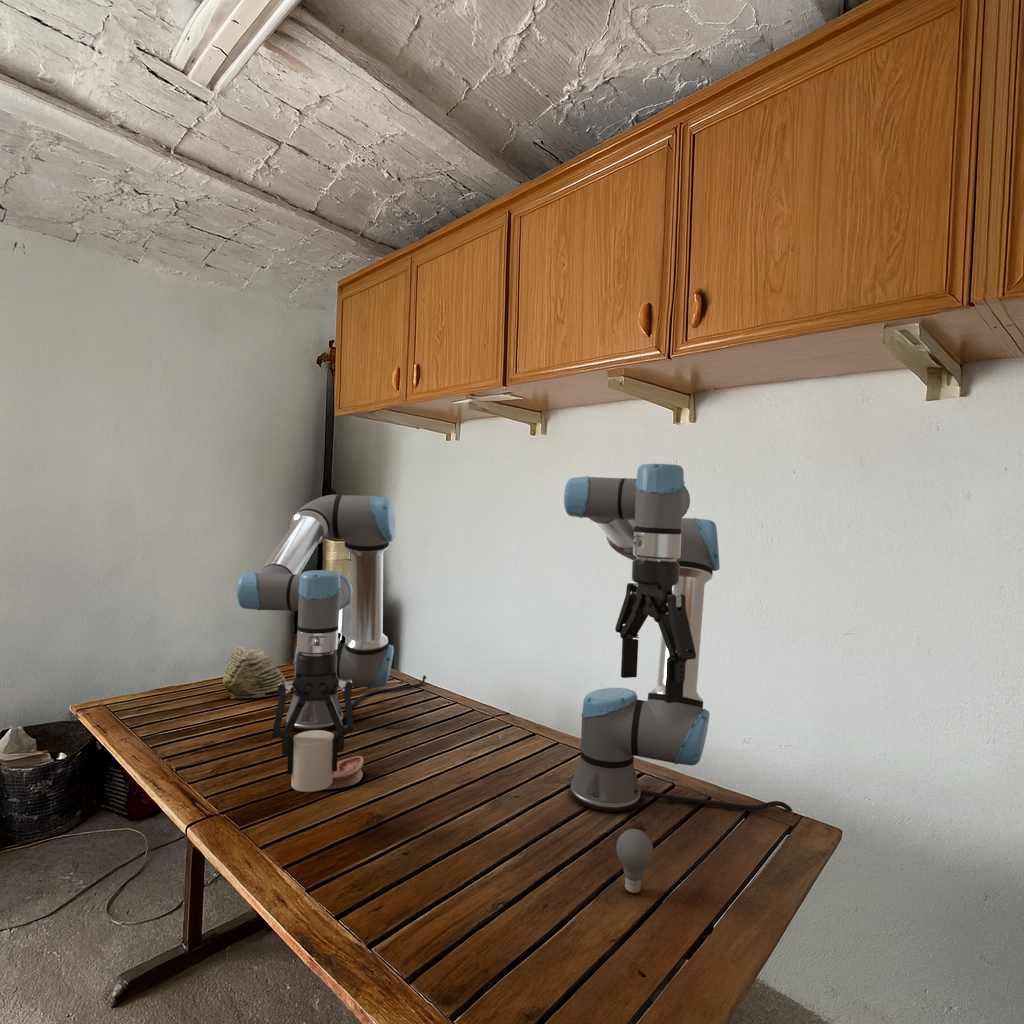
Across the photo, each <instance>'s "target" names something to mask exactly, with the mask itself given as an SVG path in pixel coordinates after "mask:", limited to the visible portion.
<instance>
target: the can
mask: <svg viewBox="0 0 1024 1024" xmlns="http://www.w3.org/2000/svg"><path fill="white" fill-rule="evenodd" d="M333 751H334V733H333V732H330V731H329V730H325V731H322V730H312V731H305V732H299V733H297V734H295V735H294V738H293V753H292V774H291V778H290V779H291V780H290V782H291V784H290V785H291V788H292V789H293V790H295V791H297V792H302V793H312V792H313V793H314V792H318V791H322V789H323V790H326V789H325V788H327V787H329V786H330V785H331V784H332V777H333Z"/></svg>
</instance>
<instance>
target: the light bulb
mask: <svg viewBox="0 0 1024 1024" xmlns="http://www.w3.org/2000/svg"><path fill="white" fill-rule="evenodd" d="M615 849H616V854H617V857H618V859H619V861H620V863H621V865H622V867H623V873H624V874H623V875H624V876H625V878H624V888H625V890H627V891H628V892H630V893H634V894H635V893H639V892H640V891H641V889H642V887H641V886H642V879H643V877H644V875H645V871H646V868H647V867H648V866H649V864H650V863H651V861H652V859H653V855H654V847H653V843H652V841H651V838H649V836H648V835H647V834H646V833H645V832H643V831H642V830H641V829H636V828H629V829H627V830H625V831H623V832H622V833H621V834H620V835H619V837H618V839H617V841H616V847H615Z"/></svg>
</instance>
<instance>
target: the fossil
mask: <svg viewBox="0 0 1024 1024" xmlns="http://www.w3.org/2000/svg"><path fill="white" fill-rule="evenodd" d="M222 676H223V677H222V685H223V687H224V688H225V690H226V691H228V693H229V698H230V699H250V698H264V697H271V696H275V695H279V692H278V686H279V683H280V682H281V681H284V682H287V680H286V678H285V676H284V674H283V673H282V672H281V669H279V668H278V667H277V665H276V663H275V662H274V660H273V659H272V658H271V657H270V656H269V655H268V654H267V653H266V652H265V650H264V649H263V648H260V647H258V648H251V647H247V646H246V647H245V646H238V647H237V648H236V649H235V650H233V651H232V653H231V656H230V657H229V659H228V660H227V663H226V666H225V668H224V671H223V675H222Z"/></svg>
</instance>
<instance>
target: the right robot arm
mask: <svg viewBox="0 0 1024 1024" xmlns="http://www.w3.org/2000/svg"><path fill="white" fill-rule="evenodd" d="M636 471H637V472H636V478H635V477H634V478H630V477H629V478H628V477H627V478H626V477H623V478H622V477H602V476H601V477H599V476H588V475H586V476H573V477H570V478H569V479H568V480H567V482H566V484H565V487H564V493H563V504H564V505H563V506H564V510H565V513H566V514H567V516H569V517H573V518H579V519H583V518H587V519H589V520H590V521H591V522H592V523H593V524H594V525H595V526H596V527H597V528H598V529H599V530H600V531H601V532H602V533H603V534H604V535H605V537H606V541H607V543H608V544H609V546H610V547H611V548H612V550H614V551H615V552H616V553H618V554H619V555H621V556H623V557H625V558H627V559H629V560H631V581H632V582H628V583H626V588H625V589H626V590H625V597H624V599H623V603H622V606H621V609H620V611H619V615H618V618H617V622H616V624H615V629H614V630H615V632H616V633H619V637H620V638H621V639H622V642H621V661H620V662H621V664H620V665H621V666H620V678H622V679H631V678H638V661H639V660H638V658H639V656H638V655H639V638H640V636H639V632H640V630H641V629H642V627H643V625H644V623H645V622H646V620H647V618H648V617H650V618H652V619H653V621H654V622H656V623H657V625H658V627H659V631H660V642H659V653H658V661H657V671H656V672H657V673H656V682H655V683H656V684H655V686H654V687H652V688H651V689H650V690H649V691H648V693H647V699H646V700H644V699H642V700H641V699H639V698H638V695H637V692H636V691H635V690H633V689H629V688H625V687H604V688H599V689H595V690H592V691H589V692H588V693H587V694H586V695H585V697H584V698H583V703H582V712H581V715H580V716H581V732H580V733H581V734H580V754H579V762H578V763H577V765H576V768H575V771H574V773H573V774H572V776H571V781H570V791H569V792H570V796H571V798H572V799H573V801H575V802H576V803H578V804H579V805H581V806H583V807H584V808H588V809H590V810H592V811H593V810H594V811H596V812H597V811H598V812H603V813H622V812H627V811H631V810H633V809H635V808H637V807H638V806H639V805H640V802H641V796H645V797H652V798H659V799H663V800H670V801H674V802H680V803H689V804H698V805H706V806H715V807H722V808H727V809H736V810H745V811H760V810H764V809H768V808H771V807H772V808H773V807H781V808H783V809H785V810H786V811H787V812H793V811H794V810H793V809H792V807H791V806H790V805H789V804H787V803H785V802H783V801H781V800H780V801H779V800H773V801H767V802H764V803H760V804H743V803H742V804H741V803H733V802H726V801H719V800H714V799H713V800H712V799H704V798H694V797H686V796H680V795H679V796H678V795H673V794H667V793H662V792H657V791H649V790H644V789H641V787H640V784H639V781H638V776H637V773H636V769H635V765H634V756H635V757H640V758H644V759H651V760H654V761H655V760H656V761H662V762H665V763H671V764H674V765H685V766H696V765H698V764H699V763H700V761H701V759H702V755H703V751H704V747H705V744H706V740H707V734H708V729H709V721H710V715H711V714H710V713H711V712H710V710H708V709H706V708H704V699H703V698H702V697H701V696H700V694H699V693H698V682H699V681H698V680H699V668H700V667H699V666H700V654H701V653H700V651H701V641H702V640H701V639H702V625H703V613H704V600H705V587H706V586H705V585H706V584H707V583H708V582H709V581H711V580H712V579H713V573H714V572H717V571H720V568H721V567H720V551H719V539H718V538H719V537H718V529H717V524H716V523H715V521H713V520H712V519H705V518H697V517H694V518H692V517H684V516H685V515H686V514H687V512H688V511H689V509H690V505H691V497H690V493H689V490H688V489H687V487H686V486H685V483H686V482H685V478H684V477H685V476H684V475H685V472H684V468H683V467H682V466H681V465H679V464H673V463H643V464H641V465H639V466H638V467H637V470H636ZM769 805H770V806H769Z"/></svg>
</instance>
